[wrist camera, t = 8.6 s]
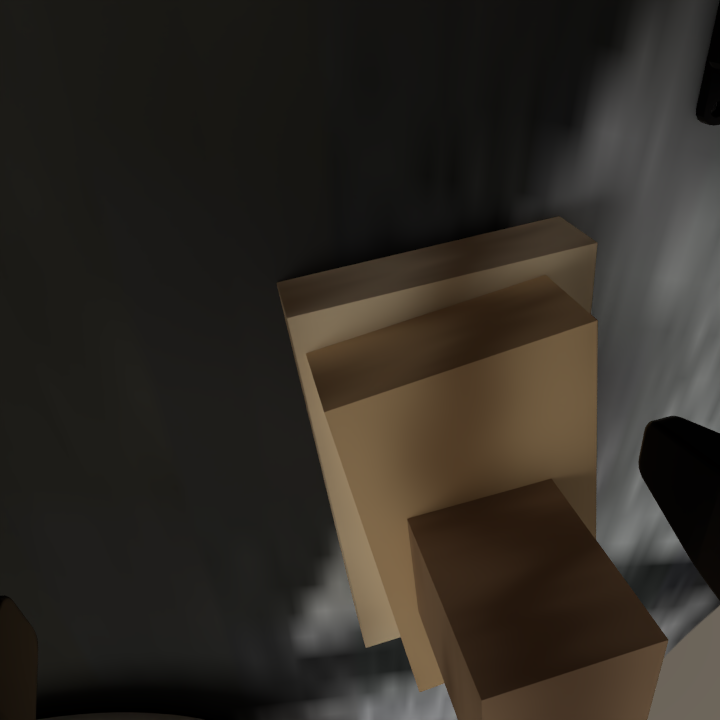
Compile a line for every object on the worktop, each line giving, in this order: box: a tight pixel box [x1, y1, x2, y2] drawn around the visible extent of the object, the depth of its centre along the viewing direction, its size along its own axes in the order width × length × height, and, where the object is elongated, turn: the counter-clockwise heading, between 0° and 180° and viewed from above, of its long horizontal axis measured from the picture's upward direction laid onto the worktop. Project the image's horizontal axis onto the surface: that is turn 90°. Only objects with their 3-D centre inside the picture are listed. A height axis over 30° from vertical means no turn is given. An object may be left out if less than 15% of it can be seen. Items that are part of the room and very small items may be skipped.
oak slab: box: [306, 275, 598, 692], centre depth 23 cm, size 8×16×3 cm, turn 13°
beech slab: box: [277, 216, 597, 648], centre depth 25 cm, size 10×18×3 cm, turn 8°
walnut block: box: [407, 479, 668, 720], centre depth 19 cm, size 5×5×6 cm
